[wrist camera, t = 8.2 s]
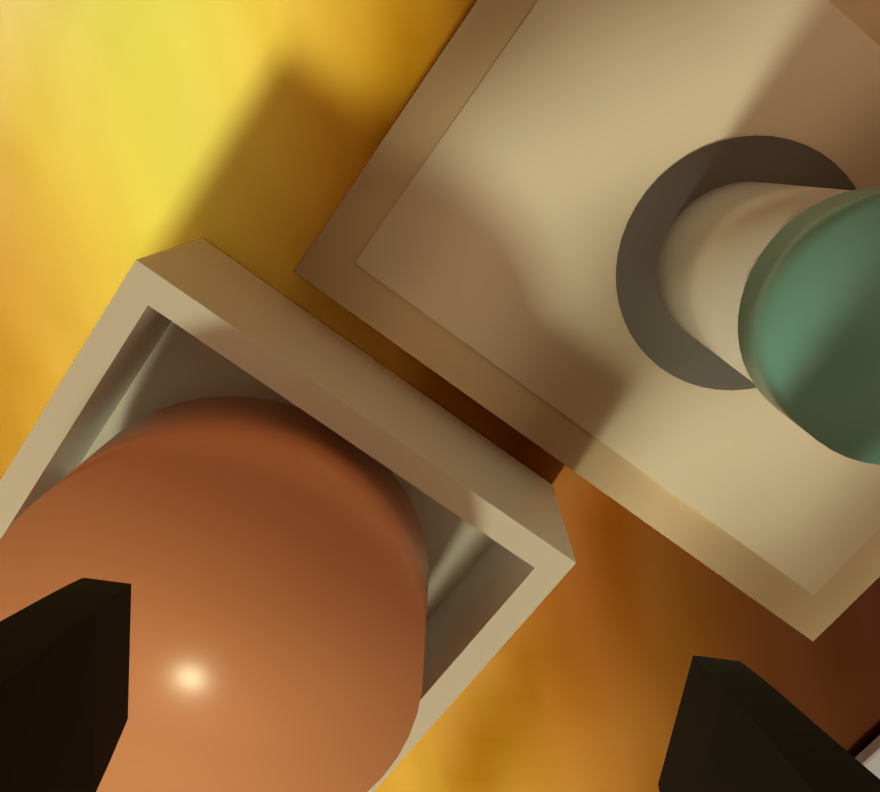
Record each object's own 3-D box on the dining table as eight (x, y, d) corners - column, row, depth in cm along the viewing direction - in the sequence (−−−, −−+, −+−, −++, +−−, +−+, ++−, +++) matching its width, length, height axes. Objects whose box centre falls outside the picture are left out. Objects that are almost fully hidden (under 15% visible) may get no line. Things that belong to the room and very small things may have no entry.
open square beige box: (552, 485, 20) (576, 563, 16) (325, 754, 23) (298, 877, 19) (202, 238, 18) (136, 260, 14) (-1, 559, 21) (-104, 649, 17)
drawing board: (1166, 259, 18) (1203, 265, 17) (800, 623, 21) (815, 644, 20) (633, -225, 16) (644, -248, 15) (300, 266, 18) (292, 272, 18)
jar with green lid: (863, 247, 17) (1123, 306, 11) (743, 381, 18) (913, 514, 11) (733, 139, 17) (922, 128, 10) (616, 284, 18) (717, 364, 11)
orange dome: (502, 537, 18) (514, 627, 14) (298, 780, 20) (266, 908, 16) (181, 318, 16) (111, 360, 13) (-3, 603, 18) (-104, 703, 15)
